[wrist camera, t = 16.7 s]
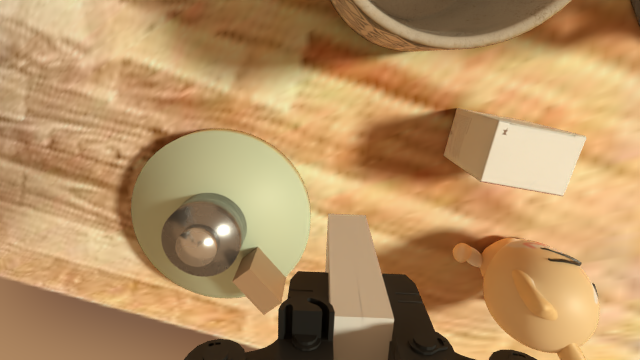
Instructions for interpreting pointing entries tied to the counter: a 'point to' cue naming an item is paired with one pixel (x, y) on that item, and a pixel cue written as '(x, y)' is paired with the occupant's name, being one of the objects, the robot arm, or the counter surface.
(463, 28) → the planter
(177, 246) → the cover
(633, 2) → the lantern
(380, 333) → the robot arm
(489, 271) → the kitten
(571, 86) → the counter surface
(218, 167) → the turntable
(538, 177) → the small box
